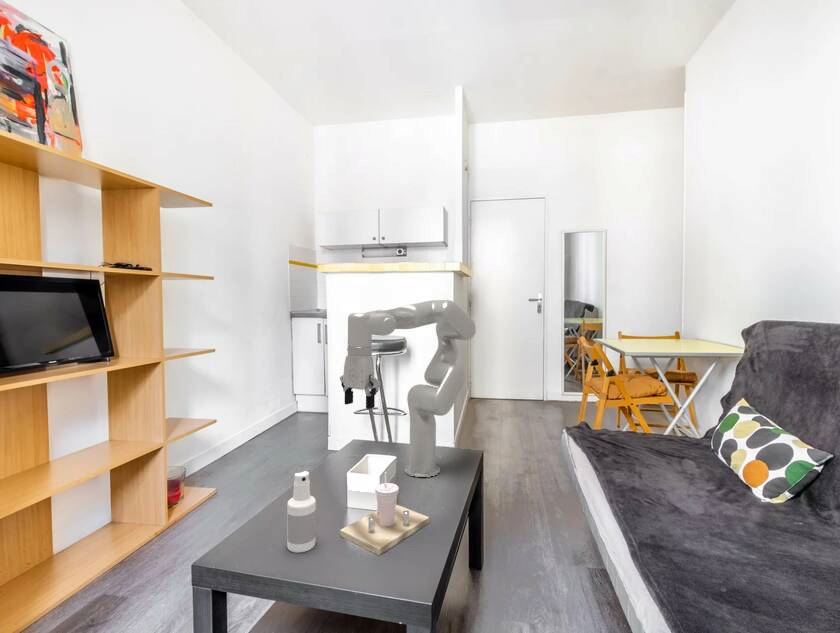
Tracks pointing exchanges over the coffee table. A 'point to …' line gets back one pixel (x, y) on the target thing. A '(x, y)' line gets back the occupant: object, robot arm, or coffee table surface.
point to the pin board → (384, 530)
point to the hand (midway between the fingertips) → (359, 405)
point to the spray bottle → (301, 516)
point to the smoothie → (386, 502)
